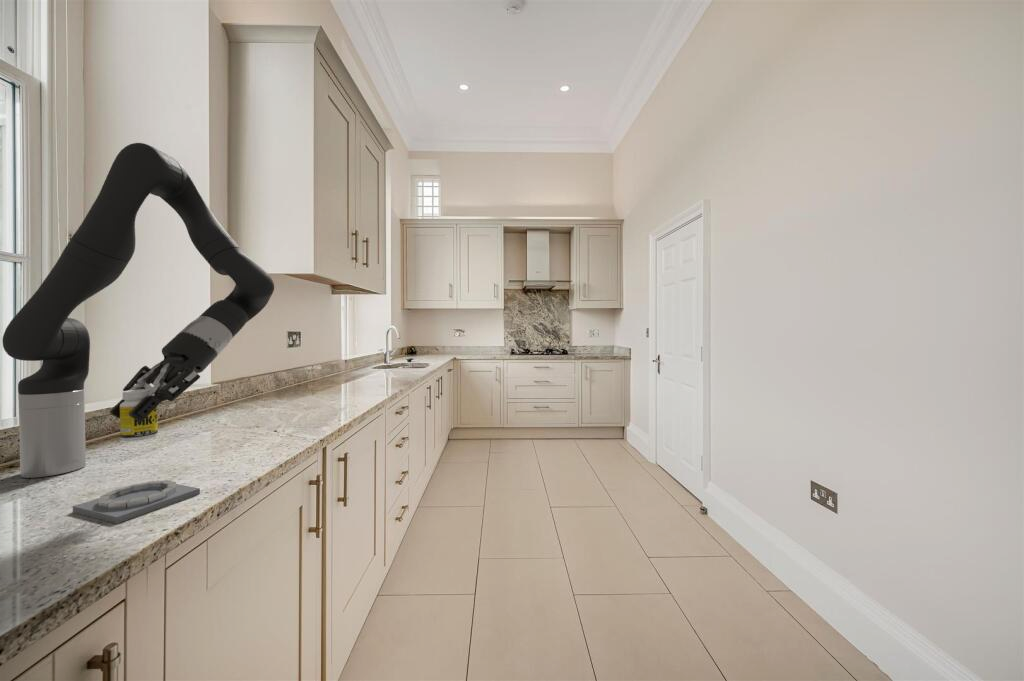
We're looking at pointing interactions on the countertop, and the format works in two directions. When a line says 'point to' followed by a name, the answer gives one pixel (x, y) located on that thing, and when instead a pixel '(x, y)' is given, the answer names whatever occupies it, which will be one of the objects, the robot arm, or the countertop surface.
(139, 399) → the supplement bottle
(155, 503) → the slate board
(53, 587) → the countertop surface
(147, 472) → the countertop surface
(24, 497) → the countertop surface
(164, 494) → the ring collar
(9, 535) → the countertop surface
